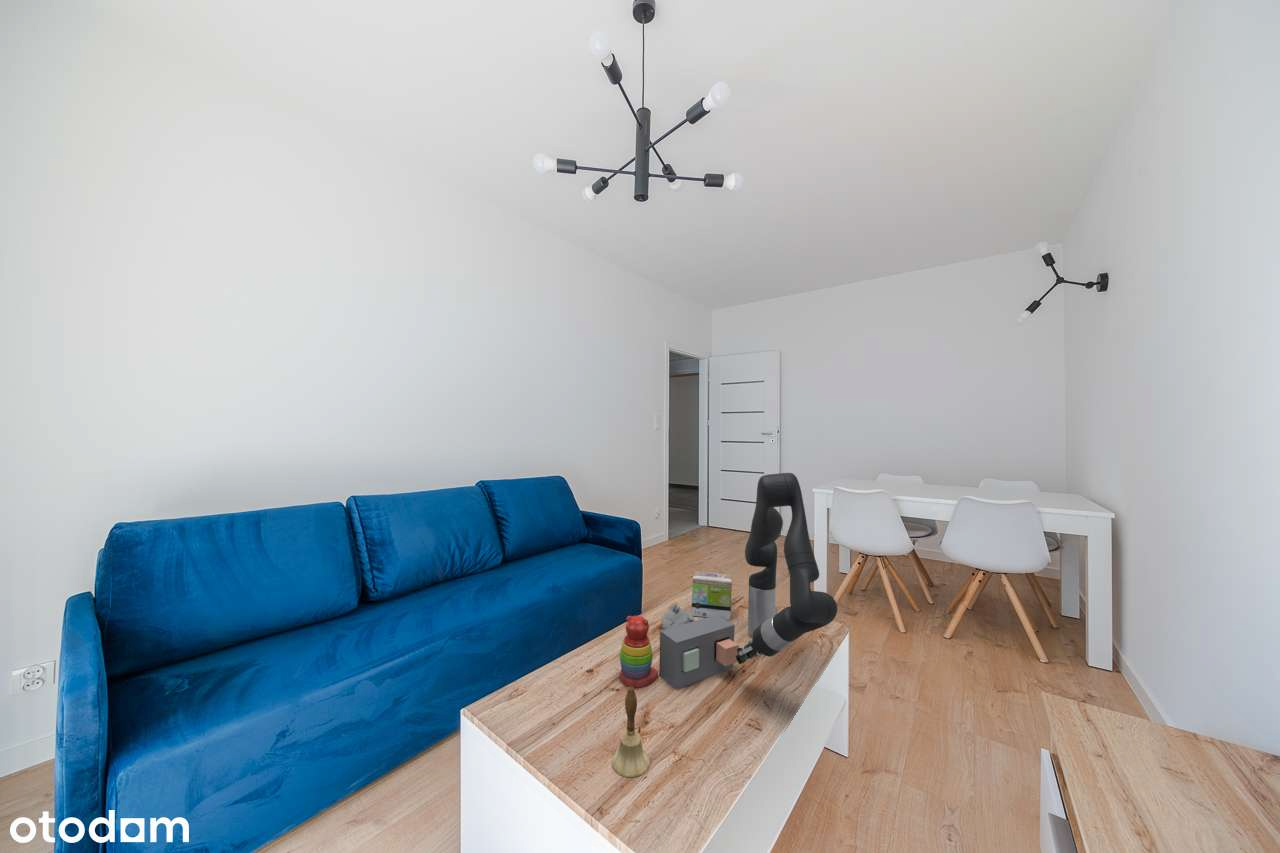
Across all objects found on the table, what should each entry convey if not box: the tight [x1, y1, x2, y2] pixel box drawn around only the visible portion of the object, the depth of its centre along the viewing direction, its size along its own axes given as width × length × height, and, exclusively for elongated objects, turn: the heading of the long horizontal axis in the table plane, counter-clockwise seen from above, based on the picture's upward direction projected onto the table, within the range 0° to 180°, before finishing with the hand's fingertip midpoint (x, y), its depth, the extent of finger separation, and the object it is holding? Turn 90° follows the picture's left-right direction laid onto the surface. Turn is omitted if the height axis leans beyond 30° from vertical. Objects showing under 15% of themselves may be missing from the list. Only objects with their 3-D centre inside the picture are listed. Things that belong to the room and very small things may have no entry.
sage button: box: [682, 647, 699, 672], centre depth 123 cm, size 5×4×5 cm
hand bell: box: [611, 686, 651, 778], centre depth 93 cm, size 8×8×16 cm
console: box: [658, 615, 736, 690], centre depth 129 cm, size 22×8×13 cm, turn 122°
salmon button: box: [716, 639, 740, 666], centre depth 127 cm, size 5×4×5 cm
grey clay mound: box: [660, 603, 696, 630], centre depth 155 cm, size 12×12×11 cm
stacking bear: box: [619, 615, 659, 688], centre depth 125 cm, size 11×10×18 cm
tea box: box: [691, 570, 733, 621], centre depth 170 cm, size 15×10×15 cm, turn 81°
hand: (739, 660), depth 123 cm, fingers closed
